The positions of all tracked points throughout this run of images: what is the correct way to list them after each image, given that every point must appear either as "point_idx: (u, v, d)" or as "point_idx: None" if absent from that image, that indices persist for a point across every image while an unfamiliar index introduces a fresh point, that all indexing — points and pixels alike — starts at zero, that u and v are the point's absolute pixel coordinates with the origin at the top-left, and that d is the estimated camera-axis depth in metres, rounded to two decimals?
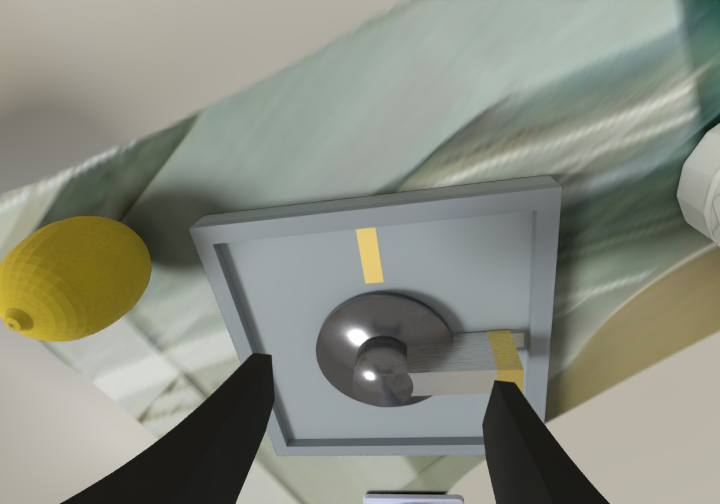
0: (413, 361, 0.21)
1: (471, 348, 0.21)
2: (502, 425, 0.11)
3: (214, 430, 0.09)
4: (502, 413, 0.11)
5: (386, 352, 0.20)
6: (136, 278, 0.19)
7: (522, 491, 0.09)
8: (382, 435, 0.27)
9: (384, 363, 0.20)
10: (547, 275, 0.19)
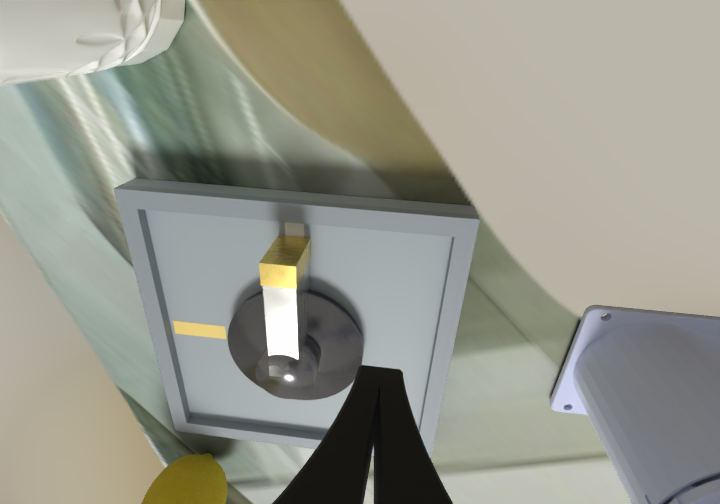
0: None
1: None
2: (378, 410, 0.11)
3: (361, 449, 0.09)
4: (378, 398, 0.11)
5: None
6: (185, 482, 0.27)
7: (379, 472, 0.10)
8: (423, 370, 0.24)
9: (255, 370, 0.21)
10: (201, 203, 0.19)
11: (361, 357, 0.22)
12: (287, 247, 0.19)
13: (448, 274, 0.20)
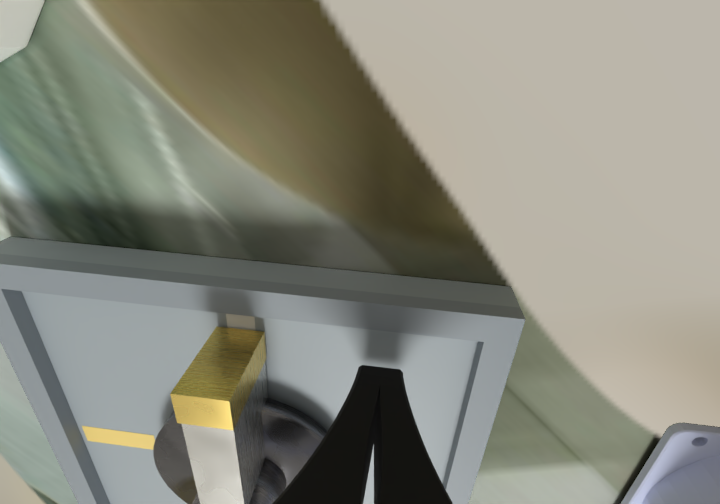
0: None
1: None
2: (378, 410, 0.11)
3: (361, 449, 0.09)
4: (378, 398, 0.11)
5: (194, 498, 0.15)
6: None
7: (379, 472, 0.10)
8: None
9: None
10: (93, 284, 0.13)
11: None
12: (225, 354, 0.12)
13: (472, 390, 0.13)
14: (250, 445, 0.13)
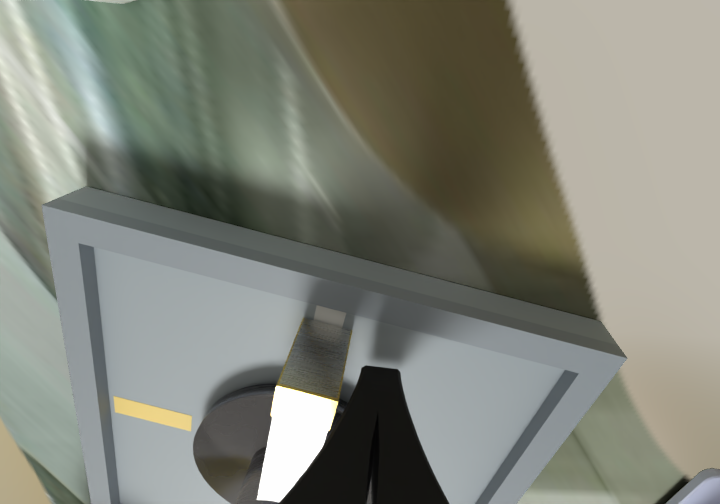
0: None
1: None
2: None
3: (366, 449, 0.09)
4: None
5: (240, 488, 0.14)
6: None
7: (376, 472, 0.10)
8: None
9: None
10: (189, 255, 0.12)
11: None
12: (319, 349, 0.12)
13: (548, 416, 0.13)
14: None
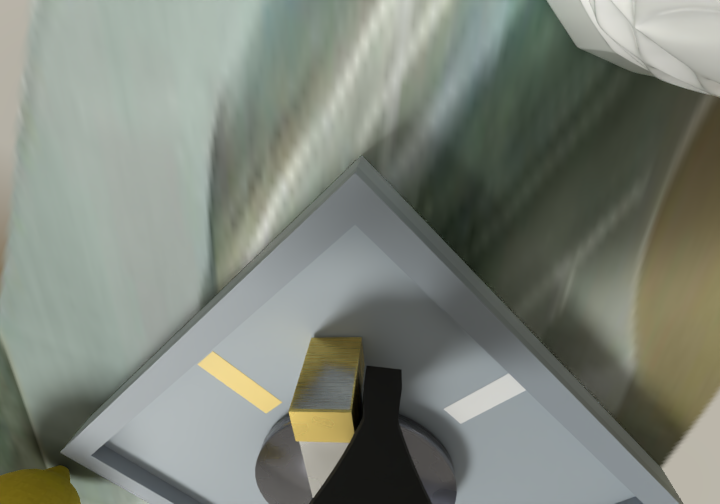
0: None
1: None
2: (362, 408, 0.11)
3: (389, 453, 0.09)
4: (363, 397, 0.11)
5: None
6: None
7: None
8: None
9: None
10: (456, 294, 0.11)
11: (455, 491, 0.15)
12: (329, 364, 0.12)
13: None
14: None
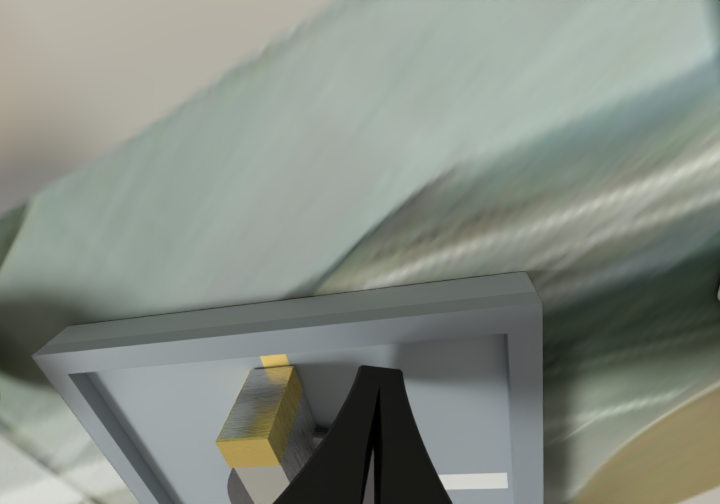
0: None
1: None
2: (378, 410, 0.11)
3: (361, 449, 0.09)
4: (378, 398, 0.11)
5: None
6: None
7: (379, 472, 0.10)
8: None
9: None
10: (531, 413, 0.13)
11: None
12: (260, 394, 0.13)
13: None
14: None
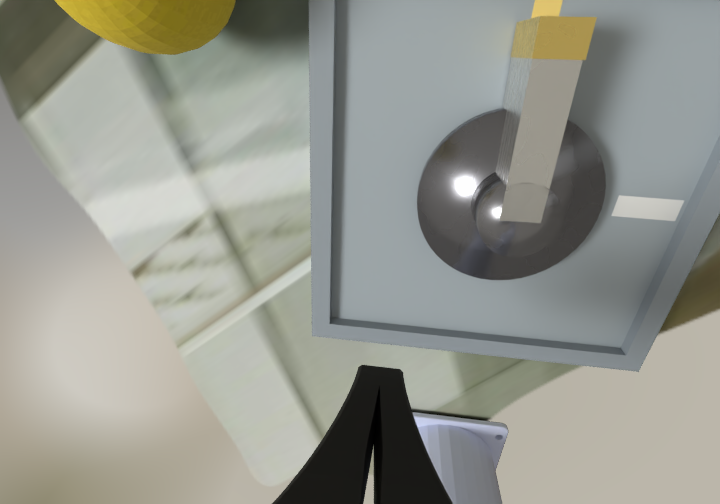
0: (502, 172, 0.16)
1: (514, 87, 0.15)
2: (378, 410, 0.11)
3: (361, 449, 0.09)
4: (378, 398, 0.11)
5: (478, 203, 0.16)
6: None
7: (379, 472, 0.10)
8: (451, 325, 0.22)
9: (480, 212, 0.15)
10: None
11: (600, 207, 0.17)
12: None
13: (584, 350, 0.21)
14: None
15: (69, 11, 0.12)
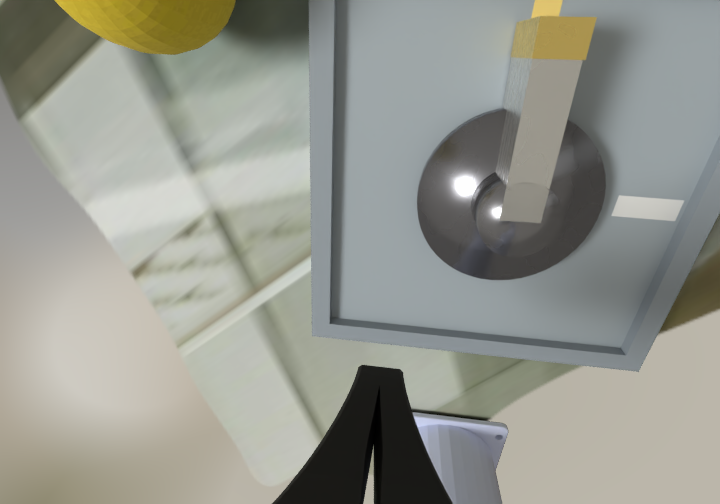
0: (502, 172, 0.16)
1: (514, 87, 0.15)
2: (378, 410, 0.11)
3: (361, 449, 0.09)
4: (378, 398, 0.11)
5: (478, 203, 0.16)
6: None
7: (379, 472, 0.10)
8: (451, 325, 0.22)
9: (480, 212, 0.15)
10: None
11: (600, 207, 0.17)
12: None
13: (584, 350, 0.21)
14: None
15: (69, 11, 0.12)
